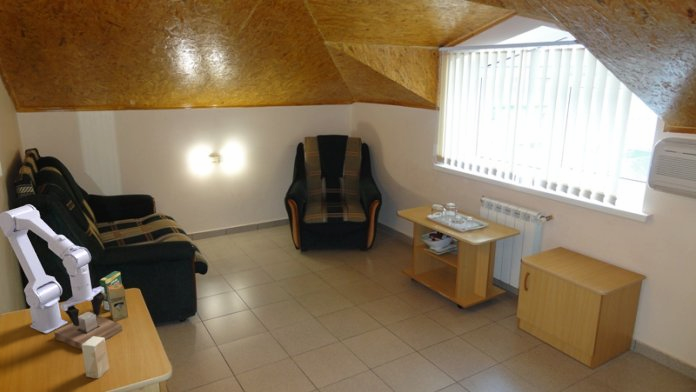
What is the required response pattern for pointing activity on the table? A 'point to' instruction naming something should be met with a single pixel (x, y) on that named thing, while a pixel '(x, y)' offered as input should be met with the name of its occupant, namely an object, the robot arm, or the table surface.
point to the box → (95, 357)
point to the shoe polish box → (117, 301)
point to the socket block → (77, 338)
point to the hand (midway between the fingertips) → (86, 319)
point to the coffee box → (106, 281)
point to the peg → (87, 322)
